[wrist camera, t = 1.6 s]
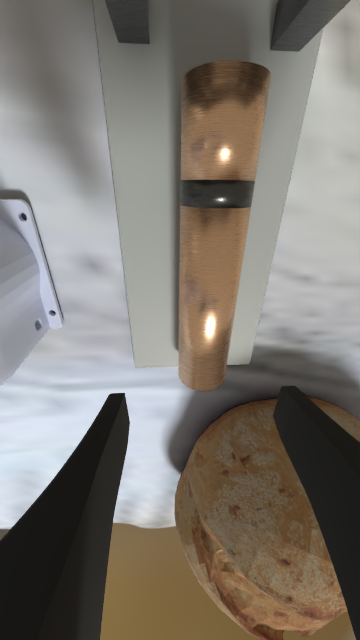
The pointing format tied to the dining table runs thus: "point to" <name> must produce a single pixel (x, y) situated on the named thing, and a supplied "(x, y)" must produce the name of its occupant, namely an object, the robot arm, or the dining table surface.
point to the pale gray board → (165, 155)
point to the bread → (257, 525)
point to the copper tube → (215, 207)
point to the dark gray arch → (288, 31)
